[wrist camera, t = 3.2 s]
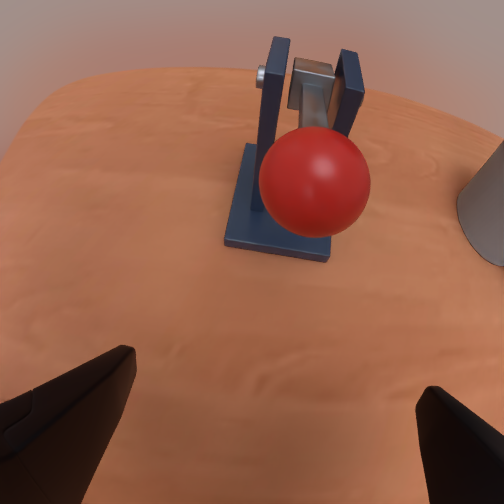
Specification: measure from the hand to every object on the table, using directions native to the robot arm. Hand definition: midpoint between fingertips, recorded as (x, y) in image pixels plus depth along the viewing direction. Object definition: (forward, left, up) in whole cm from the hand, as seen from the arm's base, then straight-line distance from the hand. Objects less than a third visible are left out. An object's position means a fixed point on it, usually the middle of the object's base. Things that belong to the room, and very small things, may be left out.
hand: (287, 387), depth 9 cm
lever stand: (+13, +8, -13) cm, 20 cm away
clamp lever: (+9, +5, -2) cm, 10 cm away
